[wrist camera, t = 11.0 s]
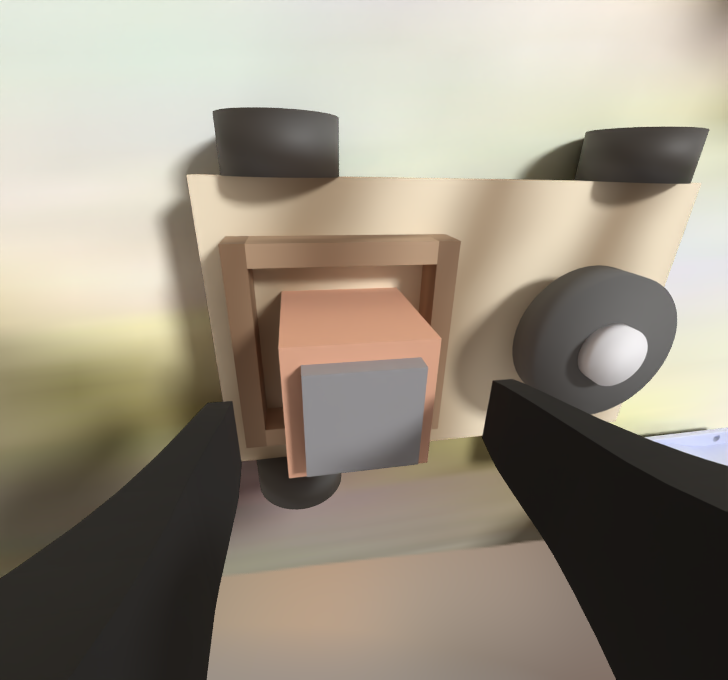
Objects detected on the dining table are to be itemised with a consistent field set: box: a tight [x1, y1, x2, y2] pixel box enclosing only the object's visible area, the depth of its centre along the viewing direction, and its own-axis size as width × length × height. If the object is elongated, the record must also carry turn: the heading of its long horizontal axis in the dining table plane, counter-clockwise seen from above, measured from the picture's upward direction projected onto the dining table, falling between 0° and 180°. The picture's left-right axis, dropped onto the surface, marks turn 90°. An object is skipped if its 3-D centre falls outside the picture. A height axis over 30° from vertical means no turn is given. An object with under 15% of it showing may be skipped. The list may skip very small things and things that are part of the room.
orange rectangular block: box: [278, 287, 442, 478], centre depth 13 cm, size 4×4×6 cm
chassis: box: [187, 108, 709, 509], centre depth 17 cm, size 20×16×4 cm
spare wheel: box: [512, 265, 677, 414], centre depth 15 cm, size 6×6×2 cm
